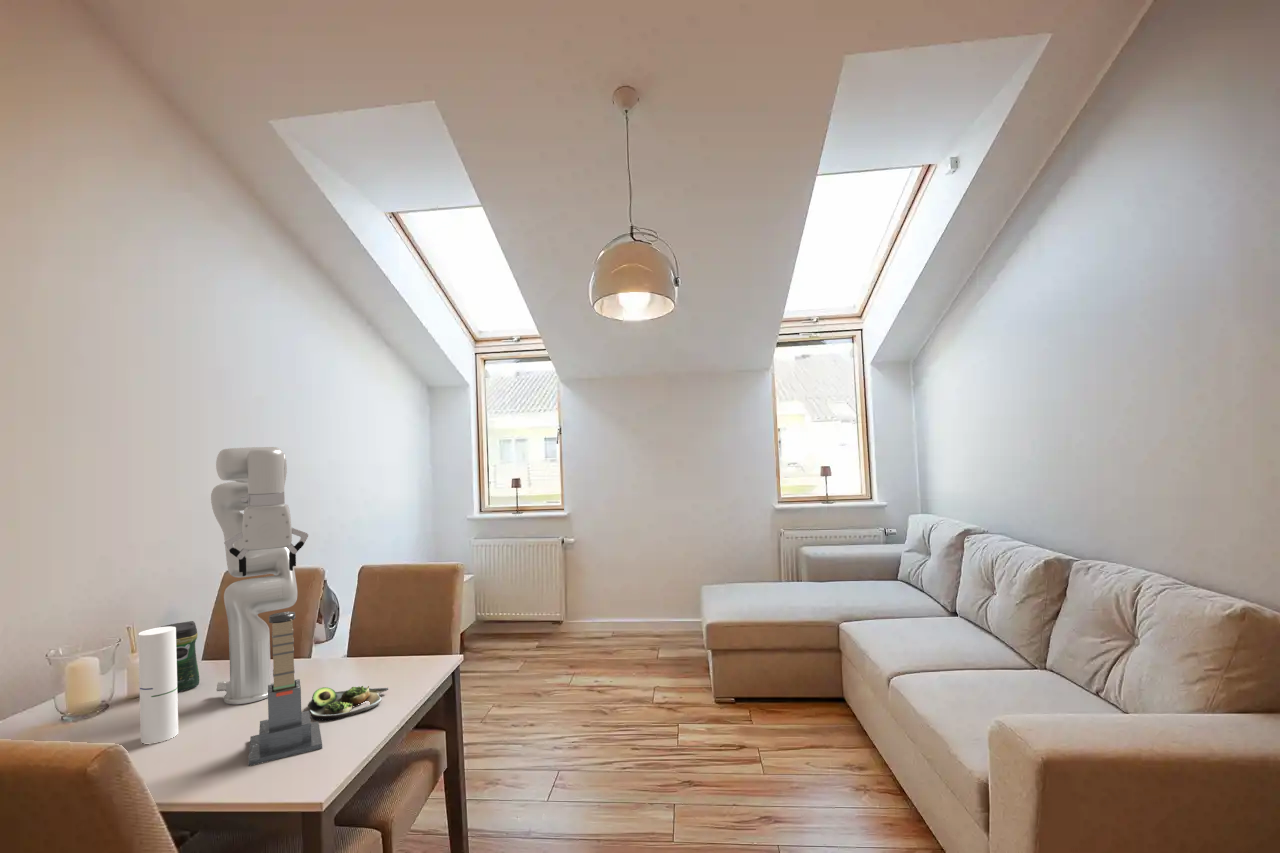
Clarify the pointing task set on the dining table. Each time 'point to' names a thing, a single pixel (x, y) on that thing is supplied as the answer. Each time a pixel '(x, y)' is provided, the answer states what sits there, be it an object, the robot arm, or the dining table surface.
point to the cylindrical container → (158, 684)
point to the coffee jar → (186, 655)
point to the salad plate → (342, 702)
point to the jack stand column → (283, 650)
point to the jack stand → (284, 728)
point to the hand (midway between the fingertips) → (268, 572)
